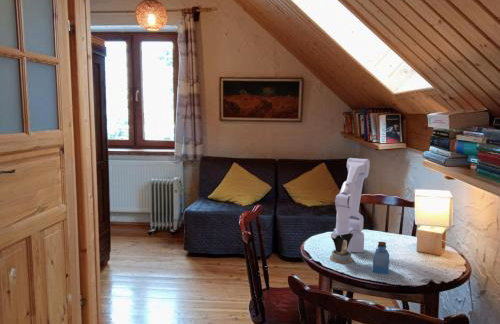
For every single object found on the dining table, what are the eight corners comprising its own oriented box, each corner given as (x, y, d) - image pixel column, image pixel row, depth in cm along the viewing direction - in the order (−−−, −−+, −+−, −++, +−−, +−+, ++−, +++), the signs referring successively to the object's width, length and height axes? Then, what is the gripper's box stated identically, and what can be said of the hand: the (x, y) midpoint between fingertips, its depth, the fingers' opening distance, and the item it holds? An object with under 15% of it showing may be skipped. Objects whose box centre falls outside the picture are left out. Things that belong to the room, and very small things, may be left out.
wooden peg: (345, 252, 184) (345, 239, 184) (347, 255, 180) (348, 242, 179) (335, 252, 184) (335, 239, 184) (337, 255, 180) (337, 242, 179)
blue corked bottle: (388, 268, 172) (390, 241, 171) (388, 274, 166) (390, 246, 165) (373, 266, 174) (374, 239, 173) (372, 272, 168) (374, 244, 167)
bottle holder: (349, 255, 187) (350, 249, 187) (355, 263, 177) (355, 256, 177) (328, 255, 187) (328, 248, 187) (331, 263, 178) (332, 256, 177)
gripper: (344, 216, 188) (343, 244, 190) (325, 221, 178) (324, 251, 180) (357, 219, 183) (356, 248, 185) (339, 225, 173) (337, 256, 175)
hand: (341, 250), depth 182 cm, fingers closed on wooden peg, 4 cm apart
